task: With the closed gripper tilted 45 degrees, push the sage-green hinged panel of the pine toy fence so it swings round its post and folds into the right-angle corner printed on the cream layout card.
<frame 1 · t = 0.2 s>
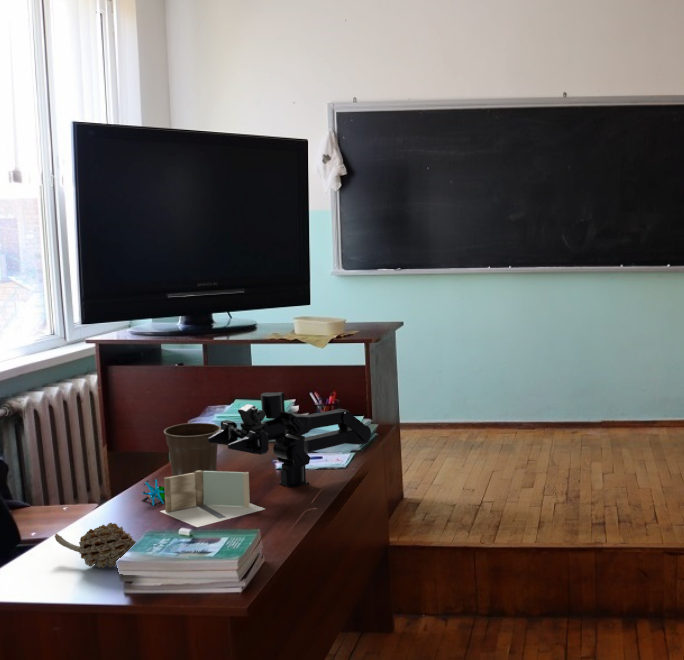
hand: (218, 443, 258), 16 cm above the table, tool horizontal, fingers open, 9 cm apart
pine cone: (92, 566, 216), on the table
sage fence panel: (226, 488, 255), point 5 cm above the table, hinge at 45.0°
plant pot: (194, 484, 280), on the table
stick construction toy: (156, 503, 263), on the table
layout card: (212, 511, 253), on the table
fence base: (200, 505, 257), resting on layout card
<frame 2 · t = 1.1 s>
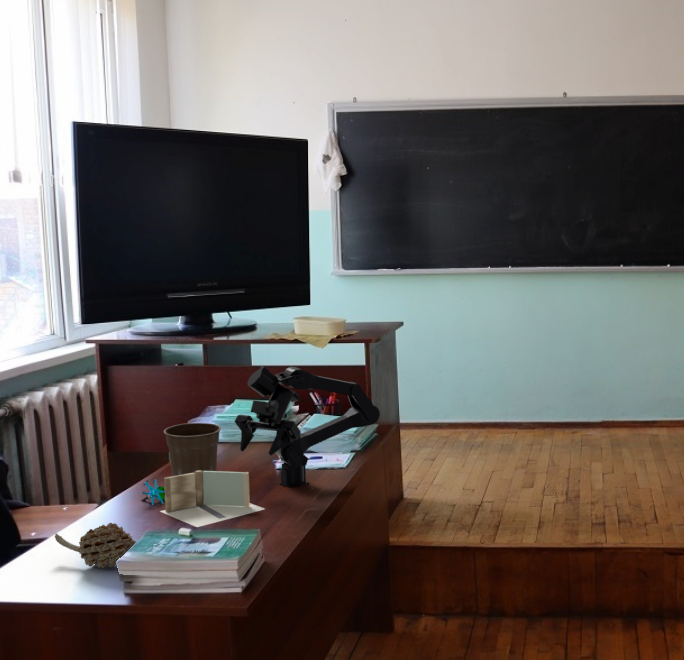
hand: (255, 452, 263), 13 cm above the table, tool tilted 45°, fingers open, 9 cm apart
nothing on the table moved.
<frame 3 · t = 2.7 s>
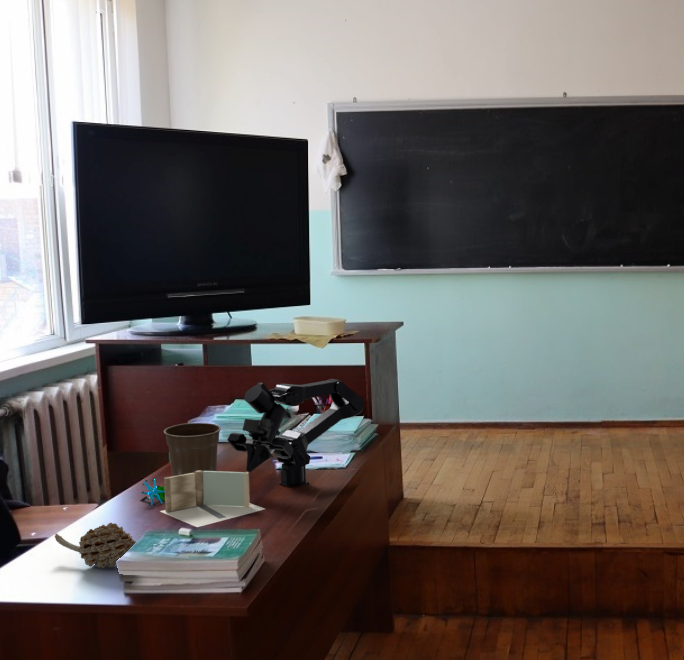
hand: (248, 471, 260), 8 cm above the table, tool tilted 45°, fingers closed
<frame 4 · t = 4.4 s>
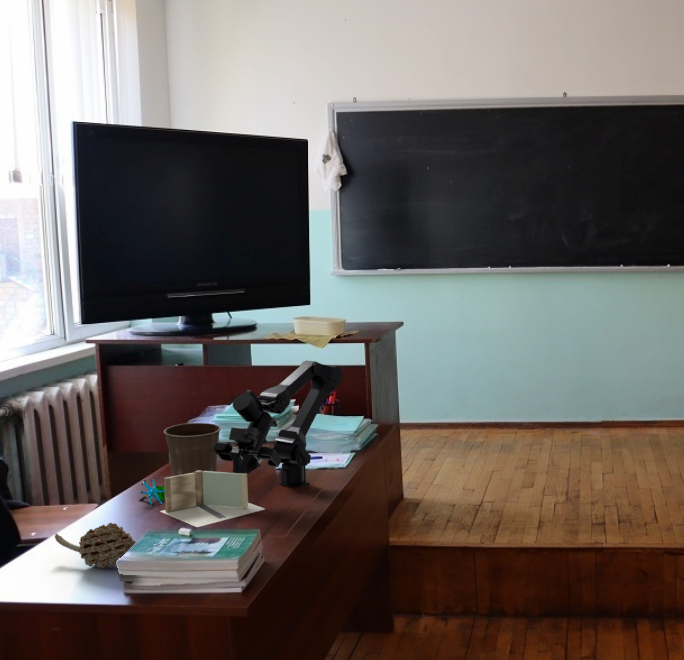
hand: (234, 481, 254), 7 cm above the table, tool tilted 45°, fingers closed
sage fence panel: (225, 489, 255), point 5 cm above the table, hinge at 39.1°, touching gripper
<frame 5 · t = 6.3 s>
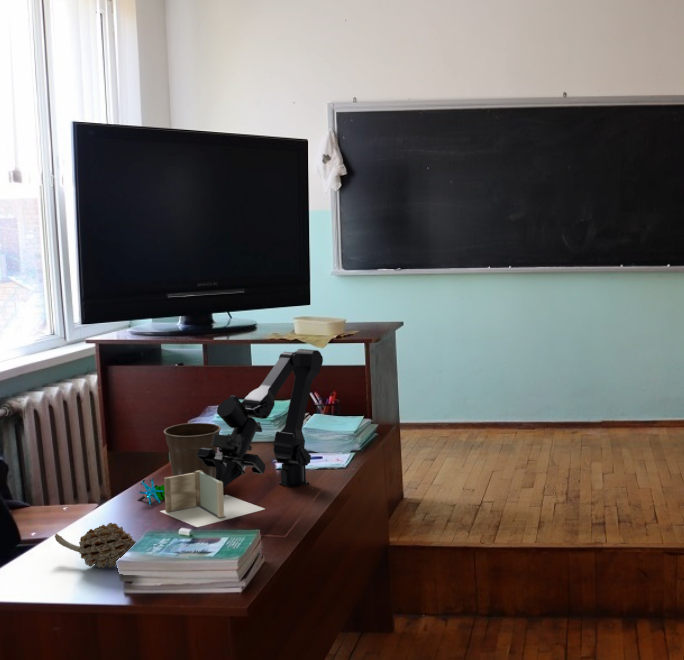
hand: (217, 489, 249), 7 cm above the table, tool tilted 45°, fingers closed
sage fence panel: (211, 494, 251), point 5 cm above the table, hinge at -1.3°, touching gripper
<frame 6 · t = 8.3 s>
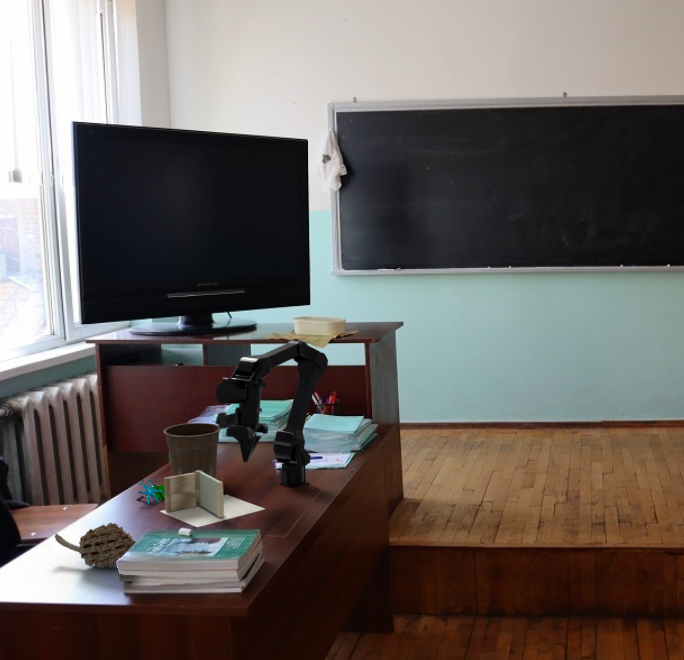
hand: (245, 462, 260), 11 cm above the table, tool pointing down, fingers closed
sage fence panel: (211, 494, 251), point 5 cm above the table, hinge at -1.3°
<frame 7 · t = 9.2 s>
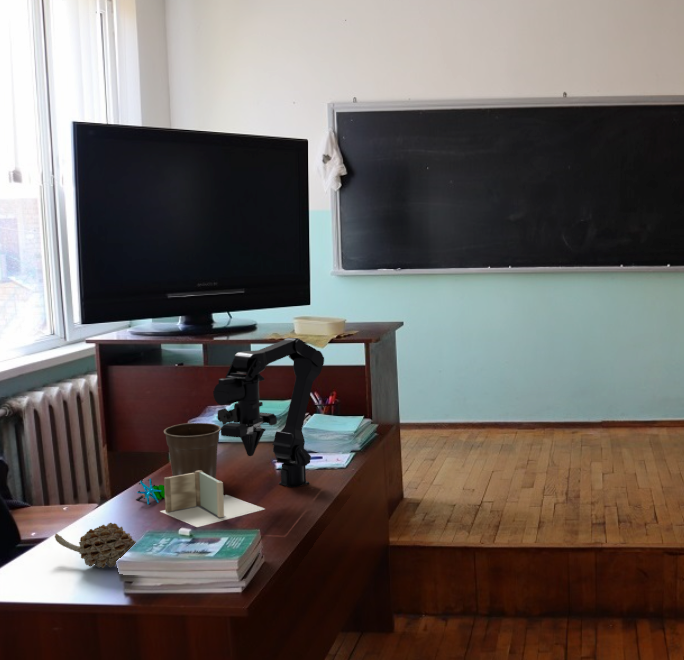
hand: (250, 455, 262), 12 cm above the table, tool pointing down, fingers closed
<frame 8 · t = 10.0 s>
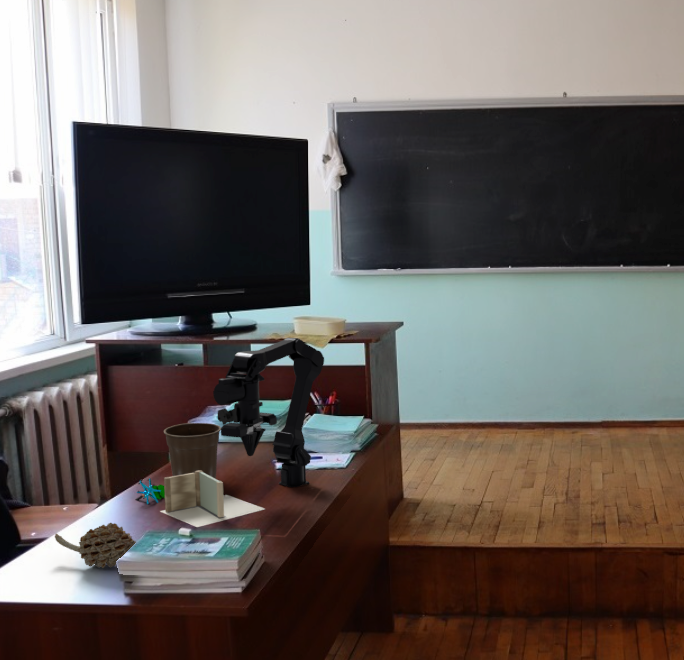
hand: (250, 455, 262), 12 cm above the table, tool pointing down, fingers closed
at the end: sage fence panel at -1° (first picture: +45°) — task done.
